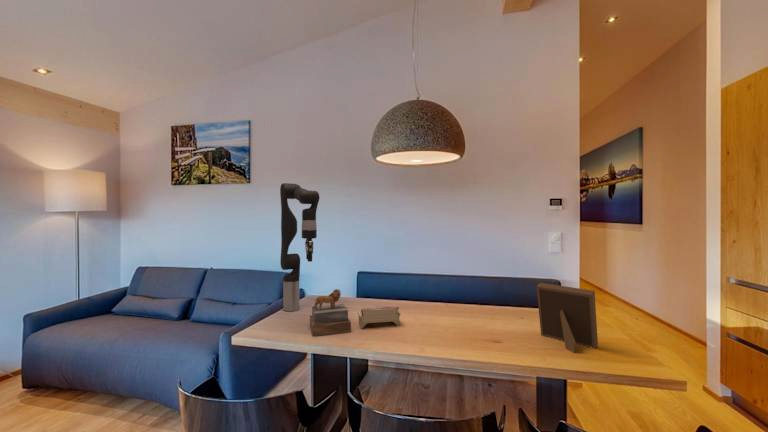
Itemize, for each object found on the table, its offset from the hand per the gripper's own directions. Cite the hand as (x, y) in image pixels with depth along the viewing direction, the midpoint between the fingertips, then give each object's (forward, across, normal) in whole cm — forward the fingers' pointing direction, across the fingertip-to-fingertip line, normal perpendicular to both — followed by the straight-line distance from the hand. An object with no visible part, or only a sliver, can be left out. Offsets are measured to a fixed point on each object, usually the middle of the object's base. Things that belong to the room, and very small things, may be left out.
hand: (309, 260), depth 167 cm
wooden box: (+33, +10, +9) cm, 36 cm away
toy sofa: (+34, +12, +34) cm, 49 cm away
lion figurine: (+23, +9, +8) cm, 26 cm away
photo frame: (+33, +61, +104) cm, 125 cm away
